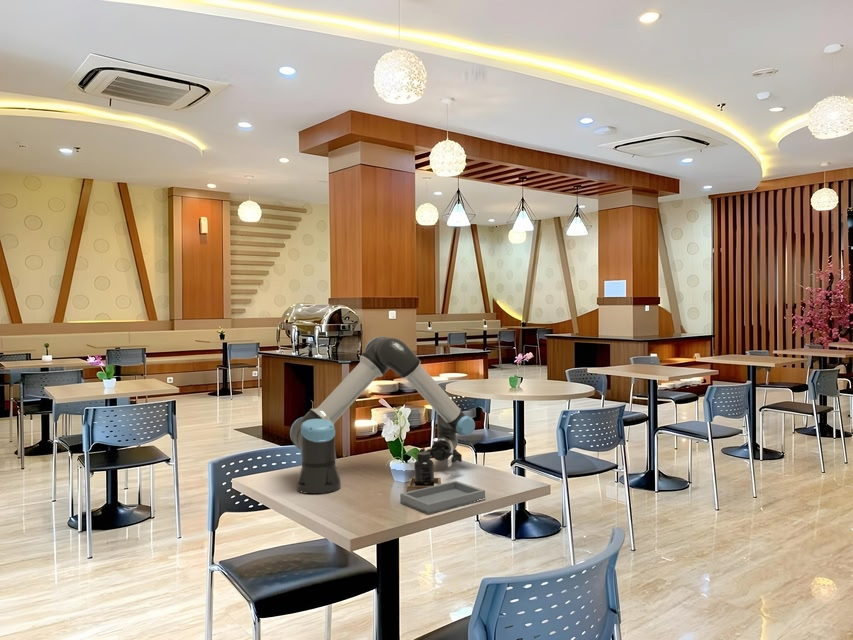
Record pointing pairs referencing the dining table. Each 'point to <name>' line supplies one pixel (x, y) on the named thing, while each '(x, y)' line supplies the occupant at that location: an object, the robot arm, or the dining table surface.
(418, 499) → the parts tray
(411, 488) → the square wooden tray
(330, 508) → the dining table surface
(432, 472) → the supplement bottle
